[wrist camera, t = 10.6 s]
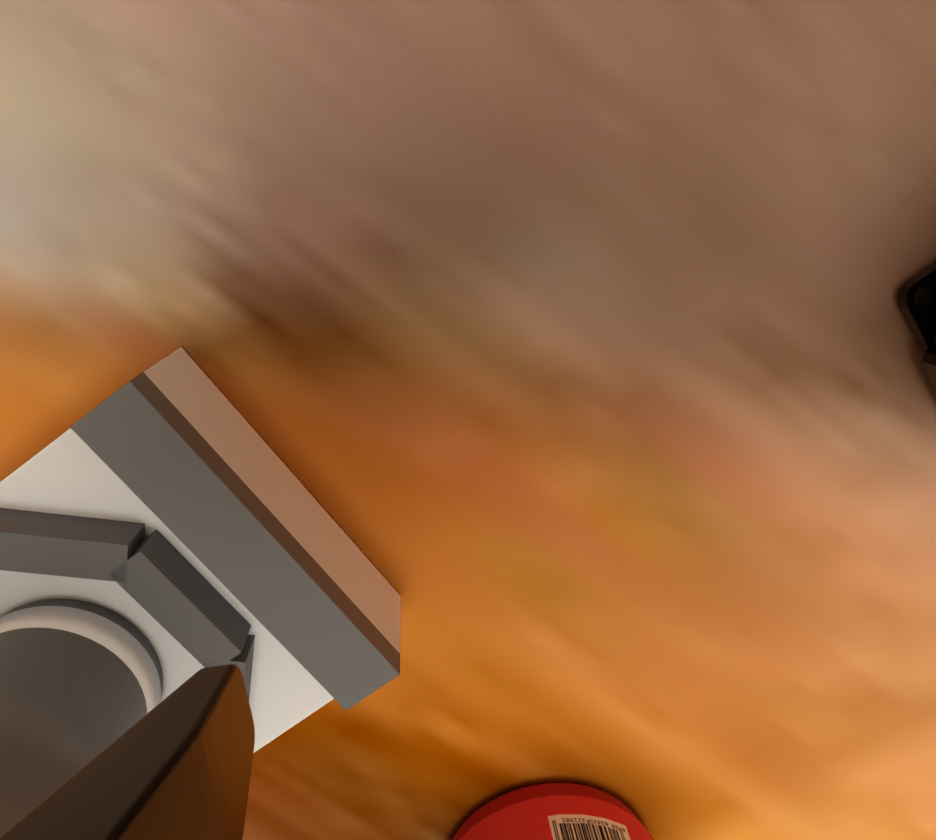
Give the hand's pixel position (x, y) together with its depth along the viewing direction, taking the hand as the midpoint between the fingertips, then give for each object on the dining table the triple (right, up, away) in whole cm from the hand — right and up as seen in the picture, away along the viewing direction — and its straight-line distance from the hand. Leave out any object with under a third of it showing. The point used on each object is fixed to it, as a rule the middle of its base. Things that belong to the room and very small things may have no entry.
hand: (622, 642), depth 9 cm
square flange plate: (-12, -3, +14) cm, 18 cm away
